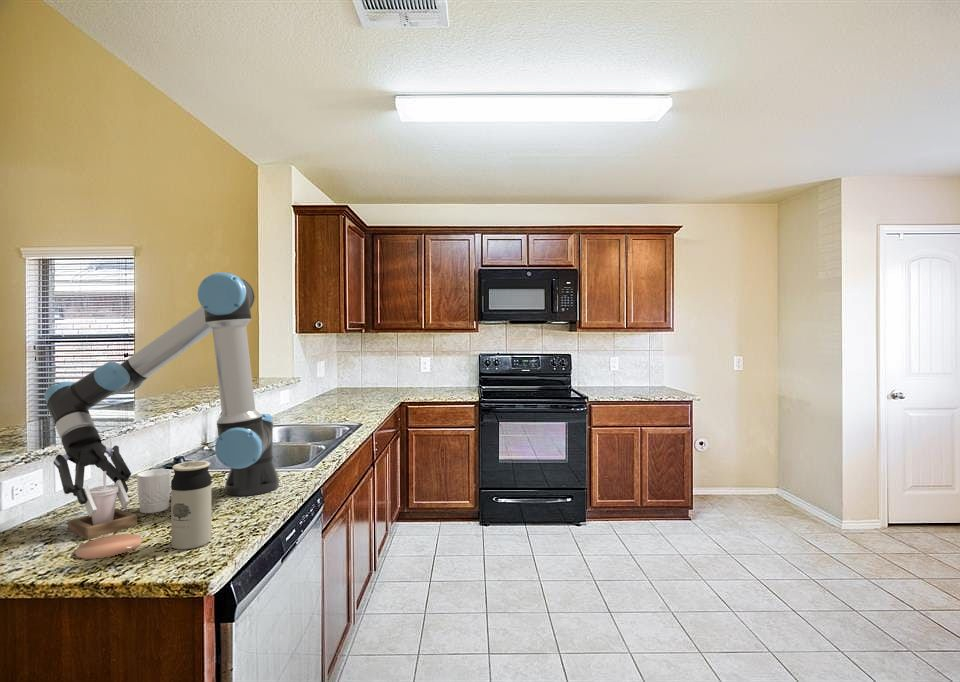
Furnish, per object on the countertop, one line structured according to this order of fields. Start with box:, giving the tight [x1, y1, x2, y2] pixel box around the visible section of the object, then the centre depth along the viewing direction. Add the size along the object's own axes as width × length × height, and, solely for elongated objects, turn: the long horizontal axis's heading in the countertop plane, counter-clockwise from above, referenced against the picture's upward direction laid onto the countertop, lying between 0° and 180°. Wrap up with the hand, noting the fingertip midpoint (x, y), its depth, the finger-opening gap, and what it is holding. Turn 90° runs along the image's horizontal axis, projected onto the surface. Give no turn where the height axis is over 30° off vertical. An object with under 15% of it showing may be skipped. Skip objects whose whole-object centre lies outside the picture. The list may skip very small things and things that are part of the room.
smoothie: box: [88, 471, 119, 526], centre depth 127 cm, size 6×6×14 cm
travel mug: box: [170, 460, 212, 550], centre depth 118 cm, size 8×8×18 cm
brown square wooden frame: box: [67, 507, 138, 540], centre depth 127 cm, size 10×10×2 cm
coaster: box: [75, 533, 143, 560], centre depth 115 cm, size 12×12×1 cm
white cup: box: [136, 468, 172, 514], centre depth 141 cm, size 8×8×10 cm
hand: (110, 508), depth 125 cm, fingers closed on smoothie, 6 cm apart
